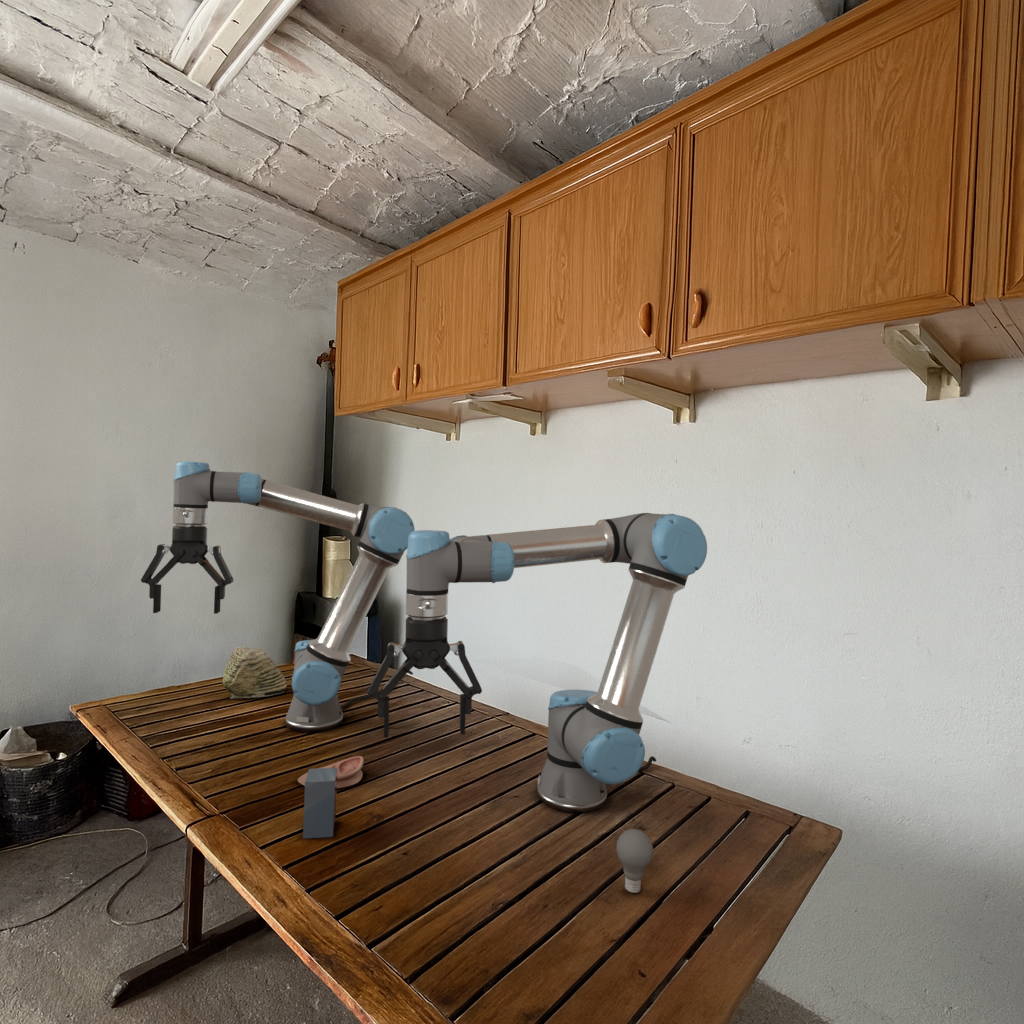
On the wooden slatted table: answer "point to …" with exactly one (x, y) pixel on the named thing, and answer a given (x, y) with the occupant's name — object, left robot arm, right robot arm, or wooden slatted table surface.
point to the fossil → (252, 674)
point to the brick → (320, 803)
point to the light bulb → (634, 857)
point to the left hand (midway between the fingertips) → (187, 612)
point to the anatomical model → (344, 771)
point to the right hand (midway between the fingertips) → (424, 733)
